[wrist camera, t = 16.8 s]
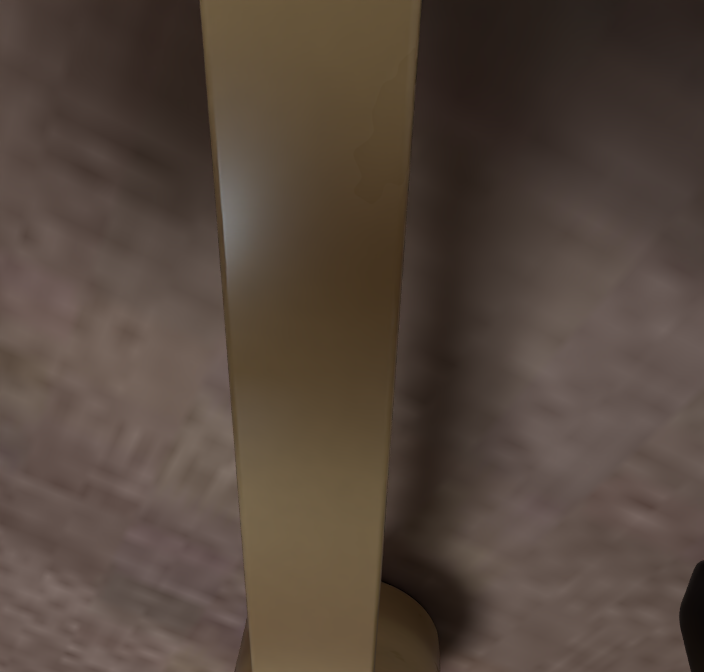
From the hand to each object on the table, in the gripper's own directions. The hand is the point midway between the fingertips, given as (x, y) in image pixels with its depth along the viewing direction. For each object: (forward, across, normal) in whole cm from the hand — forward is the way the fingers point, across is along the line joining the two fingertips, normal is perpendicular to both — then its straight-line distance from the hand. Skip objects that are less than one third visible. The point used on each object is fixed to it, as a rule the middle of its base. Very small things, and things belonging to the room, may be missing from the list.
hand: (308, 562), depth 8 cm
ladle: (+6, 0, +2) cm, 6 cm away
